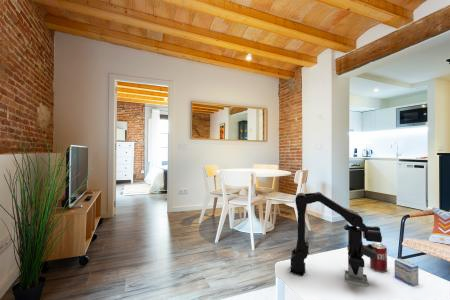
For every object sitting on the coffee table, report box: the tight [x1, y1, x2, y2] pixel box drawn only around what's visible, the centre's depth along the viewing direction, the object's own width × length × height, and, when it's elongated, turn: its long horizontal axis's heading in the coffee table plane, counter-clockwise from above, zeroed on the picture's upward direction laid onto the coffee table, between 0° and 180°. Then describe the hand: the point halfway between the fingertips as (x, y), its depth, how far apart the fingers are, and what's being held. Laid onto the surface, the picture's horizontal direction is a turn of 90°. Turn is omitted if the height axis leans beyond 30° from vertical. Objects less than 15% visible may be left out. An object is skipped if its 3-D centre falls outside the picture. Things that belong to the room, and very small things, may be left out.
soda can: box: [369, 242, 388, 273], centre depth 116 cm, size 7×7×12 cm
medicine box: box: [394, 258, 420, 287], centre depth 106 cm, size 8×4×9 cm, turn 21°
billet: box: [347, 263, 364, 279], centre depth 107 cm, size 6×4×7 cm, turn 62°
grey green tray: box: [344, 270, 369, 288], centre depth 106 cm, size 9×7×2 cm
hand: (355, 272), depth 107 cm, fingers closed on billet, 4 cm apart
